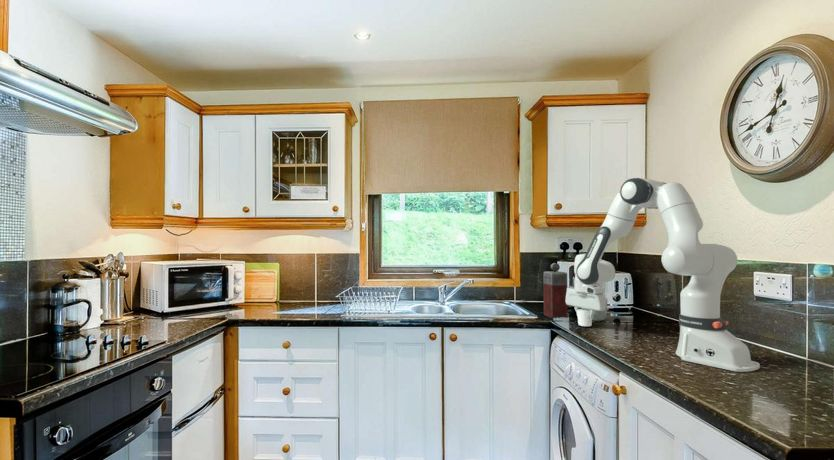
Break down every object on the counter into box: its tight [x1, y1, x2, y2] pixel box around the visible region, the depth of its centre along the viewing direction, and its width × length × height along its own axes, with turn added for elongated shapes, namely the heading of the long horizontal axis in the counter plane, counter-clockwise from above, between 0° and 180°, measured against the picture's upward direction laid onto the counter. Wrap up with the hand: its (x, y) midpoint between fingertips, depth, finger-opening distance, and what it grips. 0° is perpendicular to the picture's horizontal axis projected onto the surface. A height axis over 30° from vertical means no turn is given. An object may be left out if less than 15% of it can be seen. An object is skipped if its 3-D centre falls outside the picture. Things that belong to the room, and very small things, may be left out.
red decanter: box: [543, 262, 568, 319], centre depth 208 cm, size 9×11×28 cm
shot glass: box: [576, 308, 593, 327], centre depth 181 cm, size 7×7×7 cm
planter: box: [580, 297, 608, 322], centre depth 198 cm, size 12×12×11 cm
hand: (584, 317), depth 181 cm, fingers closed on shot glass, 5 cm apart
